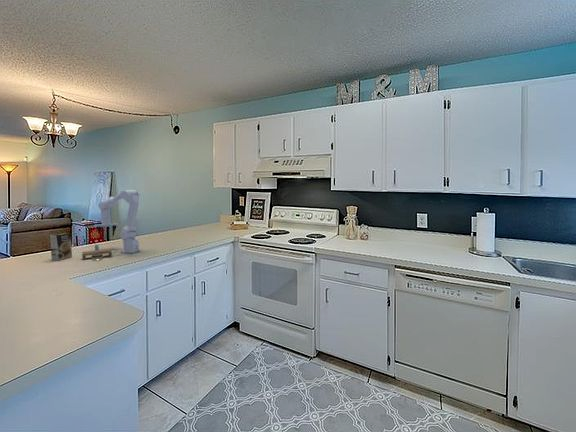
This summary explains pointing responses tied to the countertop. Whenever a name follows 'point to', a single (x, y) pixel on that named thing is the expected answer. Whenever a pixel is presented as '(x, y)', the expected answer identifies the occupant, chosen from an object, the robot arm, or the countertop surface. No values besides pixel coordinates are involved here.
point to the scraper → (98, 254)
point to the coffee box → (61, 246)
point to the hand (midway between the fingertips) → (107, 236)
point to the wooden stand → (96, 253)
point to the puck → (97, 259)
